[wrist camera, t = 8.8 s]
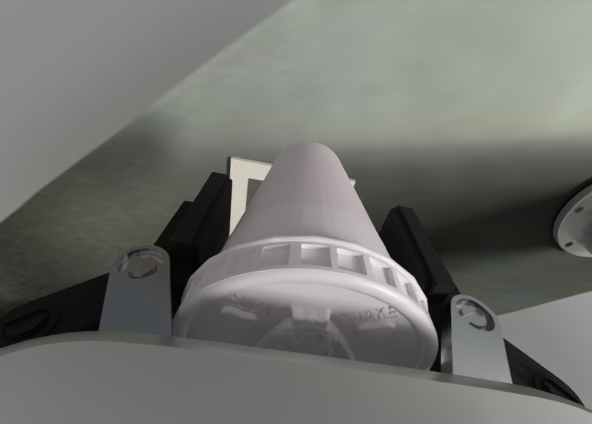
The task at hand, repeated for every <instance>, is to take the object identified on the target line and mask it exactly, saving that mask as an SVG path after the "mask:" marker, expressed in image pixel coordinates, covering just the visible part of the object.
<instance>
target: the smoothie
mask: <svg viewBox="0 0 592 424" xmlns="http://www.w3.org/2000/svg"><path fill="white" fill-rule="evenodd" d="M172 322H173V337H180V338H189V339H198V340H206V341H213V342H221V343H228V344H236V345H244V346H251V347H259V348H267V349H274V350H282V351H289V352H297V353H304V354H312V355H319V356H326V357H334V358H341V359H348V360H356V361H363V362H370V363H377V364H385V365H392V366H399V367H406V368H413V369H420V370H427V371H429V369H430V368H431V366H432V365H433V363H434V361H435V358H436V356H437V352H438V337H437V333H436V330H435V328H434V325H433V323H432V320H431V318H430V315H429V313H428V306H427V298H426V297H425V295H424V293H423V291H422V290H421V288H420V286H419V285H418V283H417V281H416V280H415V278H414V277H413V276H412V275H411V274H410V273H408V272H407V271H406V270H405V269H404V268H402V267H401V266H400V265H399V264H397V263H396V262H395V261H394V260H392V259H391V258H390V256H389V254H388V252H387V250H386V248H385V246H384V244H383V242H382V240H381V239H380V237H379V235H378V233H377V232H376V230H375V228H374V226H373V224H372V222H371V220H370V218H369V216H368V214H367V212H366V211H365V209H364V207H363V205H362V203H361V201H360V199H359V197H358V195H357V193H356V191H355V189H354V188H353V186H352V184H351V182H350V180H349V178H348V176H347V174H346V172H345V170H344V168H343V167H342V165H341V163H340V161H339V159H338V157H337V156H336V154H335V153H334V152H333V151H332V150H331V149H329V148H328V147H326V146H324V145H322V144H319V143H316V142H299V143H295V144H293V145H290V146H289V147H287V148H285V149H284V150H283V151H282V152H281V153H280V154H279V155H278V157H277V158H276V160H275V162H274V163H273V165H272V167H271V168H270V170H269V172H268V173H267V175H266V177H265V178H264V180H263V182H262V183H261V185H260V187H259V188H258V190H257V192H256V193H255V195H254V197H253V198H252V200H251V202H250V203H249V205H248V207H247V209H246V210H245V212H244V214H243V215H242V217H241V219H240V220H239V222H238V224H237V225H236V227H235V229H234V230H233V232H232V233H231V235H230V236H229V238H228V240H227V241H226V243H225V245H224V247H223V248H222V250H221V252H220V253H219V254H217V255H215V256H213V257H211V258H209V259H208V260H207V261H206V262H205V263H204V264H203V265H202V266H201V267H200V268H199V269H198V270H197V271H196V272H195V273H194V274H193V275H192V276H191V277H190V278H189V280H188V283H187V285H186V288H185V290H184V292H183V295H182V297H181V305H180V307H179V309H178V311H177V312H176V314H175V316H174V319H173V321H172Z"/></svg>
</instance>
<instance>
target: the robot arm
mask: <svg viewBox="0 0 592 424" xmlns="http://www.w3.org/2000/svg"><path fill="white" fill-rule="evenodd" d="M231 200H232V179H228V175H226V174H221V173H215V172H212V173H211V175H210V176H209V178H208V180H207V181H206V183H205V184H204V186H203V187H202V189H201V191H200V192H199V194H198V195H197V197H196V198H195V200H194V202H190V201H184V202H183V203H182V205H181V206H180V208H179V209H178V210H177V212H176V213H175V215H174V216H173V218H172V219H171V221H170V222H169V223H168V225H167V226H166V228H165V229H164V231H163V232H162V234H161V235H160V236H159V238H158V239H157V241H156V242H155V244H154V245H140V246H135V247H132V248H130V249H127V250H125V251H123V252H122V253H120V254H119V255H118V256H117V257H116V258H115V259H114V260H113V263H112V265H111V268H110V272H109V273H107V274H104V275H101V276H99V277H96V278H93V279H90V280H88V281H85V282H82V283H80V284H77V285H74V286H72V287H69V288H66V289H63V290H61V291H58V292H55V293H53V294H50V295H47V296H45V297H42V298H39V299H36V300H34V301H31V302H28V303H26V304H23V305H21V306H19V307H17V308H14V309H12V310H11V311H9V312H8V313H6V314H5V315H3V316H2V317H0V424H592V410H590V409H588V408H586V407H585V406H584V404H583V403H582V402H581V400H580V399H579V397H578V396H577V395H576V394H575V393H574V392H573V390H572V389H571V388H570V387H569V386H568V385H566V384H565V383H564V382H563V381H562V380H560V379H559V378H558V377H556V376H555V375H554V374H552V373H551V372H549V371H548V370H546V369H545V368H544V367H542V366H541V365H540V364H538V363H537V362H536V361H534V360H533V359H532V358H530V357H529V356H527V355H526V354H525V353H523V352H522V351H521V350H519V349H518V348H516V347H515V346H514V345H512V344H511V343H509V342H508V341H507V340H505V339H504V338H503V336H502V331H501V326H500V323H499V321H498V319H497V317H496V316H495V314H494V313H493V312H492V311H491V310H490V309H489V308H488V307H487V306H486V305H484V304H483V303H482V302H480V301H479V300H477V299H475V298H473V297H470V296H467V295H456V293H455V291H454V288H455V285H454V283H453V281H452V280H451V278H450V276H449V274H448V272H447V271H446V269H445V267H444V265H443V263H442V261H441V260H440V258H439V256H438V254H437V252H436V250H435V249H434V247H433V245H432V243H431V241H430V239H429V238H428V236H427V234H426V232H425V230H424V228H423V227H422V225H421V223H420V221H419V219H418V217H417V216H416V214H415V212H414V210H413V209H412V208H408V207H402V206H396V207H395V209H394V208H392V209H391V210H390V211H389V214H388V216H387V218H386V220H385V222H384V224H383V226H382V228H381V230H380V232H379V237H380V239H381V240H382V242H383V244H384V246H385V248H386V250H387V252H388V254H389V256H390V258H391V259H392V260H394V261H395V262H396V263H397V264H399V265H400V266H401V267H402V268H404V269H405V270H406V271H407V272H408V273H410V274H411V275H412V276H413V277H414V278H415V280H416V281H417V283H418V285H419V286H420V288H421V290H422V291H423V293H424V295H425V297H426V298H427V306H428V313H429V315H430V318H431V320H432V323H433V325H434V328H435V330H436V333H437V337H438V352H437V356H436V358H435V361H434V363H433V365H432V366H431V368H430V369H429V371H427V370H420V369H413V368H406V367H399V366H392V365H385V364H377V363H370V362H363V361H356V360H348V359H341V358H334V357H326V356H319V355H312V354H304V353H297V352H289V351H282V350H274V349H267V348H259V347H251V346H244V345H236V344H228V343H221V342H213V341H206V340H198V339H189V338H180V337H173V322H172V321H173V319H174V316H175V314H176V312H177V311H178V309H179V307H180V305H181V297H182V295H183V292H184V290H185V288H186V285H187V283H188V280H189V278H190V277H191V276H192V275H193V274H194V273H195V272H196V271H197V270H198V269H199V268H200V267H201V266H202V265H203V264H204V263H205V262H206V261H207V260H208V259H209V258H211V257H213V256H215V255H217V254H219V253H220V252H221V250H222V248H223V247H224V245H225V243H226V241H227V240H228V238H229V234H230V218H231ZM553 237H554V239H555V241H556V243H557V244H558V245H559V246H560V247H561V248H562V249H564V250H565V251H567V252H568V253H571V254H573V255H577V256H583V257H592V184H591V185H590V186H588V187H586V188H585V189H583V190H582V191H581V192H579V193H578V194H577V195H576V196H574V197H573V198H572V199H571V200H570V201H569V202H568V203H567V204H566V205H565V206H564V208H563V209H562V210H561V212H560V213H559V214H558V216H557V218H556V220H555V222H554V227H553Z"/></svg>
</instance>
